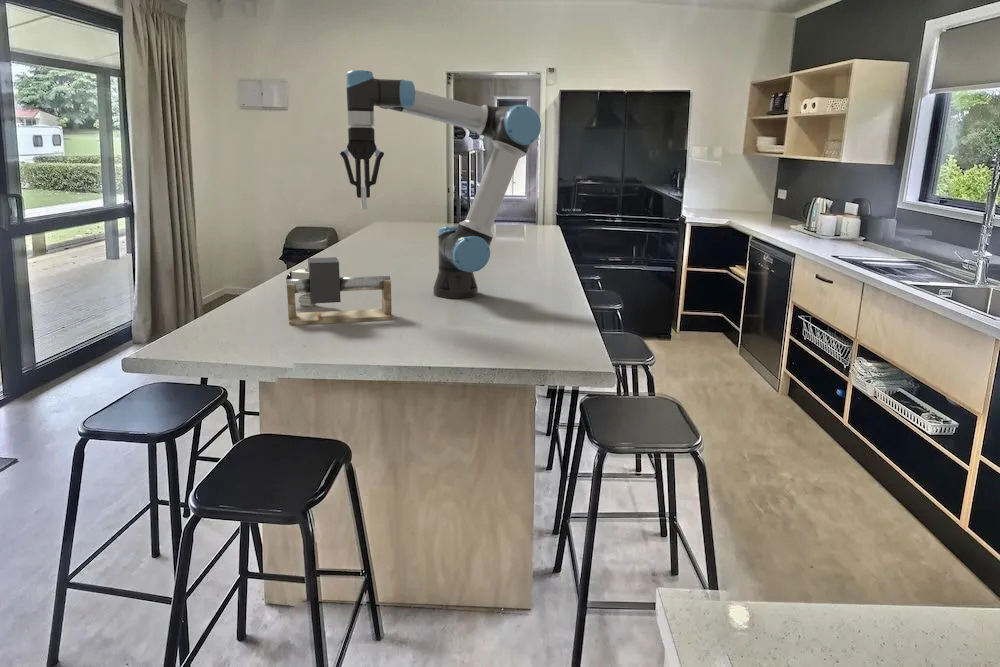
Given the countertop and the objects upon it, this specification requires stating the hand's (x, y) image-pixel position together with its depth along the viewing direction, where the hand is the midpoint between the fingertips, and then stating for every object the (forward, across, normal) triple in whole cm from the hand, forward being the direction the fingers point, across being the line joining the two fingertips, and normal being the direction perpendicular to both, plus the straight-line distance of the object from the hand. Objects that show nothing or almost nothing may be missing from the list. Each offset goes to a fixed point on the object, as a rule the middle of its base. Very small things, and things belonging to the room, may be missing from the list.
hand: (363, 208), depth 214 cm
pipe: (+22, +9, +12) cm, 27 cm away
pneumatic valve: (+31, +17, -7) cm, 36 cm away
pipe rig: (+30, +9, +12) cm, 34 cm away
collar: (+25, +13, +12) cm, 30 cm away
